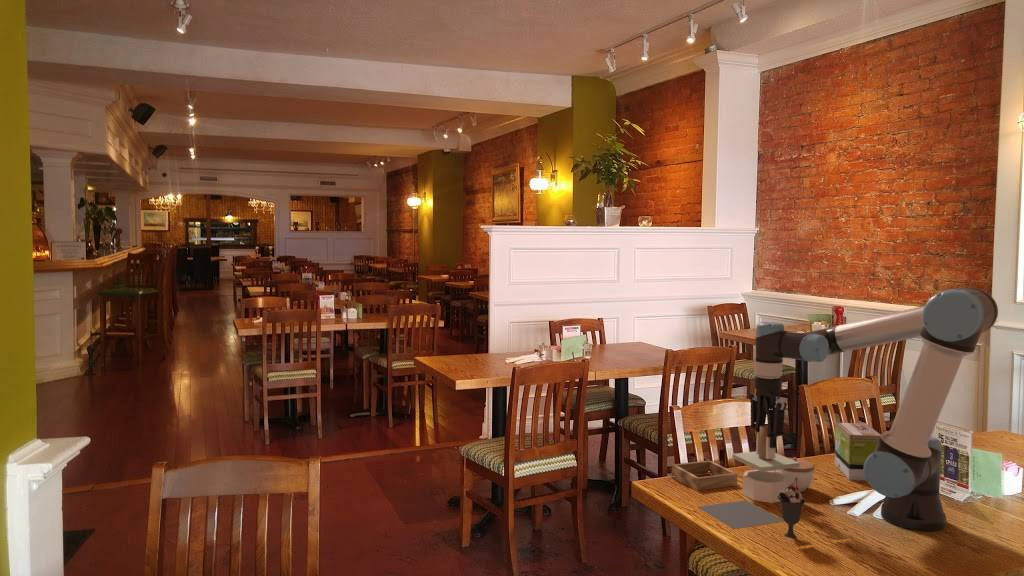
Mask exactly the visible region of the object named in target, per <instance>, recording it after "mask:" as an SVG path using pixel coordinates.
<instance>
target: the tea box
mask: <svg viewBox="0 0 1024 576" xmlns="http://www.w3.org/2000/svg"><path fill="white" fill-rule="evenodd" d="M881 434H882V433H880V432H878V431H877V430H875V429H874V428H873V427H872V426H870V425H869V424H868V423H865V422H864V423H862V422H861V423H859V422H857V423H856V422H835V437H834V439H835V446H834V450H835V451H834V465H835V466H836V467H837V469H839V471H840V472H841V473H842V474H843V475H844V476H845V477H846V478H847V480H849V481H861V480H862V481H865V482H868V481H867V479H866V478H865V475H864V470H863V468H864V463H865V461H866V459H867V458H868V456H869V455H870V454H872V453H874V451H875V449H876V446H877V444H878V441H879V439H880V436H881Z"/></svg>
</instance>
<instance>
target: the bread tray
mask: <svg viewBox="0 0 1024 576" xmlns="http://www.w3.org/2000/svg"><path fill="white" fill-rule="evenodd" d="M708 471H710V472H709V473H711V474H712V475H713V476H712V475H707V476H698V475H697V474H704V475H706V474H705V473H708ZM695 475H696V476H695ZM672 476H675V477H672ZM671 479H673V480H676V481H677V482H679V483H681V484H683V485H685V486H686V487H688V488H689V489H694V490H696V491H702V490H703V491H704V490H709V489H717V488H725V487H726V488H727V487H731V486H737V485H738V473H736V472H734V471H732V470H730V469H728V468H726V467H725V466H722V465H720V464H718V463H716V462H715V461H712V460H701V461H694V462H693V461H691V462H684V463H673V464H671Z"/></svg>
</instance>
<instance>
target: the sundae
mask: <svg viewBox="0 0 1024 576" xmlns="http://www.w3.org/2000/svg"><path fill="white" fill-rule="evenodd" d="M797 479H798V478H795V481H796V486H797ZM794 483H795V482H794ZM794 483H793V484H794ZM793 484H792V485H791V484H790V485H789V486H788V487H787V488H785V490H784V491H783V492H781V493H779V496H778V499H779V500H780V502H779V503H780V507H781V508H780V509H781V516H782V520H784V522H785V523H786V524H787V525H788V526H787V527H788V528H787V529H788V530H787V532H786V533H784V537H786V538H788V539H797V537H798V536H797V535H796V534H795V533H794V526H795V525H796V524H798V523H799V521H800V520H801V516H802V511H803V505H804V504H805V503H806V501H807V499H806V498H804V497H803V494H802V493H801V492H799V491H798V490H799V488H798V487H794V486H793Z"/></svg>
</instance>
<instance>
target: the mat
mask: <svg viewBox="0 0 1024 576" xmlns="http://www.w3.org/2000/svg"><path fill="white" fill-rule="evenodd" d="M697 508H699V509H700V510H702V511H703V512H705V513H707V514H709V516H711V517H713V518H715V520H716V519H717V520H718V521H719V522H721V523H723V524H724V525H726V526H728V527H729V528H731V529H733V530H737V529H744V528H751V527H757V526H763V525H764V526H765V525H769V524H776V523H783V522H785V521H784V520H783V518H780V517H778V516H776V515H774V514H773V513H771V512H769V511H767V510H765V509H763V508H761V507H759V506H757V505H756V504H754V503H752V502H750V501H748V500H746V499H745V500H739V501H738V500H737V501H731V502H723V503H715V504H709V505H704V506H703V505H701V506H698V507H697Z"/></svg>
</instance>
